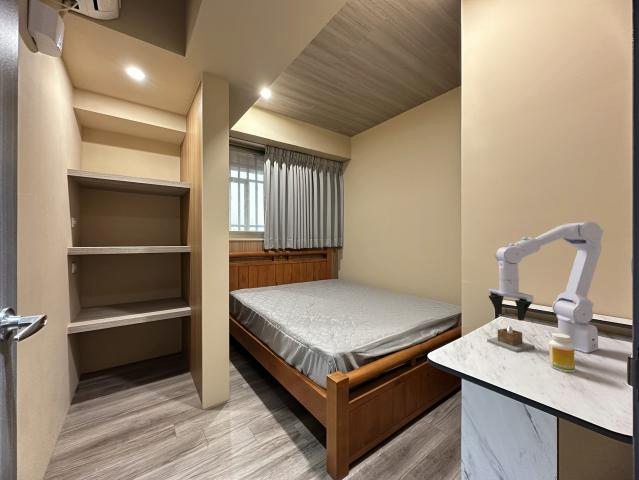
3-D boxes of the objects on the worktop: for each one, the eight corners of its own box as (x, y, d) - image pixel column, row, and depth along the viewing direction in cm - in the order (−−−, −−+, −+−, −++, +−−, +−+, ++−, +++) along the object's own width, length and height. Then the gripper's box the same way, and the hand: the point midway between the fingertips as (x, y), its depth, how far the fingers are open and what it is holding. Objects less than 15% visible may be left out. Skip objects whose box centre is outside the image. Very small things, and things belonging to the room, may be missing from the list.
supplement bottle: (580, 373, 71) (579, 339, 71) (557, 372, 72) (557, 338, 72) (565, 364, 77) (564, 332, 77) (545, 363, 78) (544, 331, 78)
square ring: (522, 343, 90) (522, 332, 90) (512, 346, 88) (512, 334, 88) (507, 338, 95) (507, 328, 95) (497, 340, 93) (497, 329, 93)
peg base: (534, 347, 89) (534, 328, 89) (515, 352, 85) (515, 332, 85) (505, 337, 98) (504, 320, 98) (487, 341, 95) (486, 323, 95)
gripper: (482, 278, 98) (482, 313, 97) (523, 283, 84) (524, 324, 84) (494, 276, 100) (495, 311, 100) (536, 282, 87) (537, 321, 86)
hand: (509, 317), depth 92 cm, fingers open, 7 cm apart
